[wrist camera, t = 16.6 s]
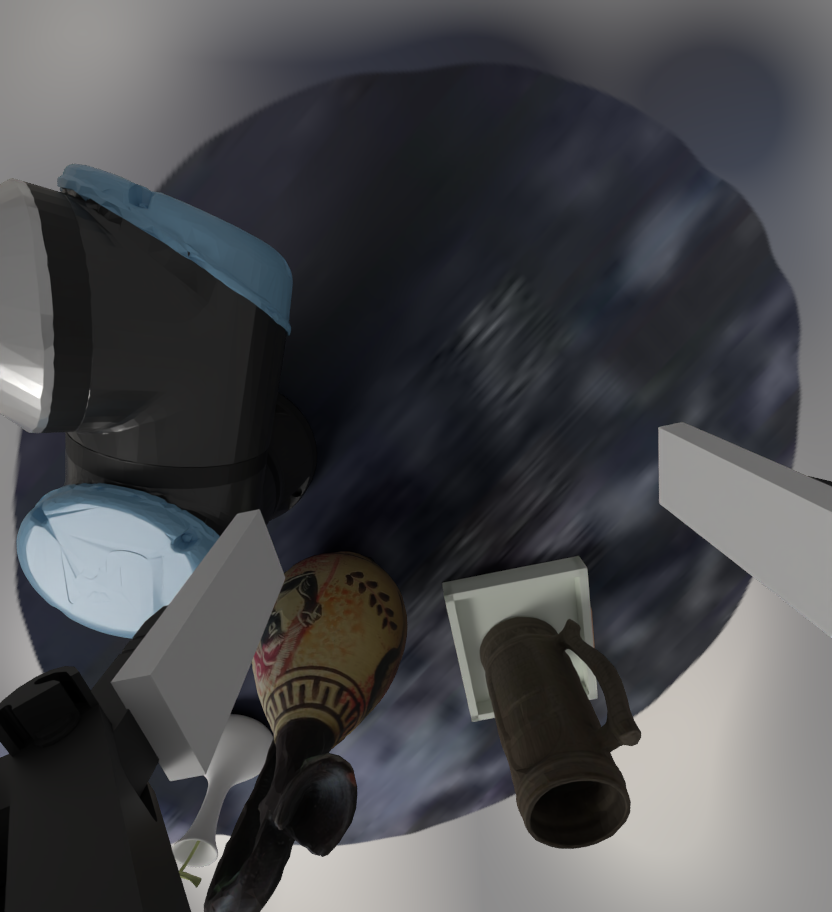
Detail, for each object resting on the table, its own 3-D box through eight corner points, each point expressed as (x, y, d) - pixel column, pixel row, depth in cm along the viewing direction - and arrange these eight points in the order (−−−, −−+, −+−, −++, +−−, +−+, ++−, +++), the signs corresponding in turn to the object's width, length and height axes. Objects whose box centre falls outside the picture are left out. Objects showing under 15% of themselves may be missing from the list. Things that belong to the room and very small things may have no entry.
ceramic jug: (330, 500, 49) (239, 776, 21) (431, 575, 53) (469, 891, 25) (244, 596, 53) (68, 936, 24) (344, 658, 57) (291, 1014, 28)
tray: (469, 705, 60) (472, 721, 58) (442, 582, 53) (444, 595, 51) (591, 682, 60) (599, 698, 57) (581, 555, 52) (589, 567, 50)
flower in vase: (265, 698, 58) (175, 966, 35) (289, 755, 62) (223, 1031, 39) (172, 714, 59) (21, 991, 35) (201, 770, 63) (84, 1053, 39)
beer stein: (532, 693, 59) (603, 867, 40) (462, 670, 57) (501, 842, 38) (588, 602, 55) (695, 747, 36) (515, 575, 54) (588, 713, 34)
